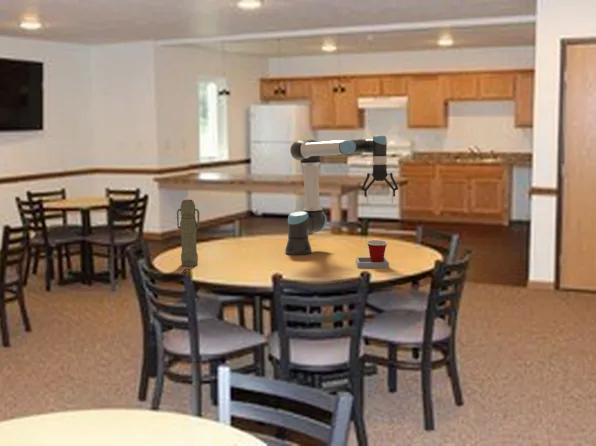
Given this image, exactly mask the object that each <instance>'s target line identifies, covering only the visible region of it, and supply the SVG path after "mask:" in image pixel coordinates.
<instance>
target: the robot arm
mask: <svg viewBox="0 0 596 446" xmlns="http://www.w3.org/2000/svg"><path fill="white" fill-rule="evenodd" d="M387 145H388V141H387V136H386V135H373V136H372V138H370V139H369V138H357V139H344V140H343V139H342V140H329V141H328V140H327V141H319V140H317V139H299V140H296V141H294V142H293V143H292V144H291V145H290V151H289V152H290V155H291V157H292V158H293V159H294V160H296V161H300V165H302V166H303V181H304V182H303V184H304V188H303V189H304V205H305V206H304V208H303V209H302V211H294V212H291V213H290V214H288V215H287V216H288V217H287V239H288V240H287V242H286V243H287V244H286V247H285V251H284V253H285V254H286V255H291V254H292V255H291V256H293V255H295V256H296V255H297V256H305V255H310V254H312V251H313V250H312V247H311V243H310V241H309V234H311V233H318V232H320V231H322V230H324V229H325V228H326V226H327V222H328V219H327V218H328V217H327V215H326V214H325V213H324V210H323V209H324V208H322V207H321V205H320V203H321V201H320V180H319V179H320V176H319V175H320V174H319V165H320V164H321V162H322V161H321V159H322V158H323V156H336V155H352V154H370V153H371V154H372V163H373V164H372V172H371V173H370V172H367V173H366V177H365V180H364V181H363V184H362V185H361V187H360V190H361V191H363V192H364V195H363V196H364V197H365V198H366V199H365V201H366V204H368V203H369V191H368V190H369V189H370V188H371V186H372V185H373V184H374V183H375V181H376V182H385V183H386V184H387V185H388V186H389V187H390V188H391V190H390V203H391V204H393V203H394V197H396V191H398V190H399V186H398V184H397V182H396V180H395V179H394V176H393V173H392V172H387V171H388V170H387V167H388V166H387V161H388V160H387V158H388V157H387V148H388V147H387ZM371 177H373V178H372V179H371V181H370V182H369V183H368V181H369V178H371ZM387 177H390V180H391V182H392V184H393V185H392V184H391V183H390V181H389V180H388V179H387ZM367 183H368V184H367Z"/></svg>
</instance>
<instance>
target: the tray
mask: <svg viewBox="0 0 596 446" xmlns="http://www.w3.org/2000/svg"><path fill="white" fill-rule="evenodd" d="M355 264H356V267H357V268H358V269H383V268H384V269H389V268H390V262H389V261H388V258H387V257H386V256H384V258H383V262H371V258H370V256H367V257H366V256H362V257H357V256H356V257H355ZM388 267H389V268H388Z"/></svg>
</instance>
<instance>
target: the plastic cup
mask: <svg viewBox="0 0 596 446" xmlns="http://www.w3.org/2000/svg"><path fill="white" fill-rule="evenodd" d="M366 244H367V246H368V247H367V248H368V252H369V257H370V258H371V262H383V258H384V257H385V253H386V248H387V245H388V242H387V241H386V240H379V239H376V240H374V239H373V240H368V241H366Z"/></svg>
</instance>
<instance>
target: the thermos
mask: <svg viewBox="0 0 596 446" xmlns="http://www.w3.org/2000/svg"><path fill="white" fill-rule="evenodd" d="M179 212H180V215H181V217H179ZM196 212H197V213H196ZM196 216H197V217H196ZM196 218H197V220H196ZM179 219H180V220H179ZM179 221H180V222H179ZM176 225H177V229H179V230H180V232H179V233H180V236H181V254H180V261H181V266H182V267H186V268H187V267H188V268H189V267H197V266H198V264H199V263H198V261H199V254H198V252H197V233H198V229H199V228H200V210H199V209H198V208H196V204H195V202H194V200H192V199H183V200H181V203H180V208H178V209H177V211H176Z"/></svg>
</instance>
